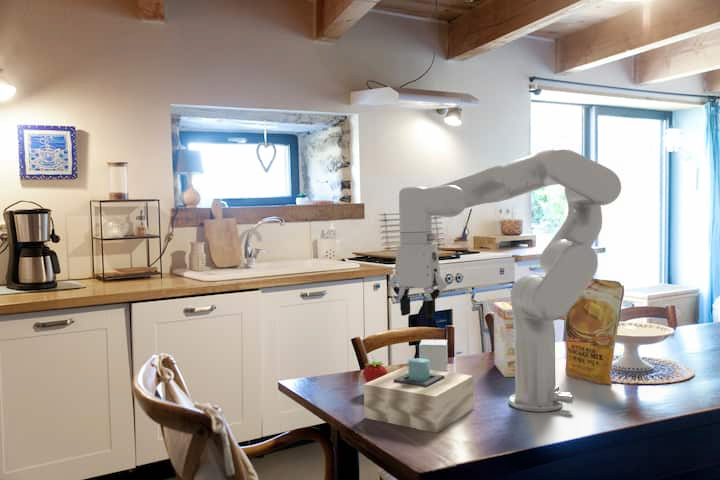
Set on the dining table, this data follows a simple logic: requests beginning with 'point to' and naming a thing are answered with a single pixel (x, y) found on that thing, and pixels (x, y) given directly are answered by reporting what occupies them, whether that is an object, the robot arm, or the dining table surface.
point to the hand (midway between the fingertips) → (417, 315)
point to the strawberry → (374, 371)
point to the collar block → (419, 399)
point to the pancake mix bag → (593, 331)
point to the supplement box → (435, 354)
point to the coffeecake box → (504, 338)
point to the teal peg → (419, 369)
